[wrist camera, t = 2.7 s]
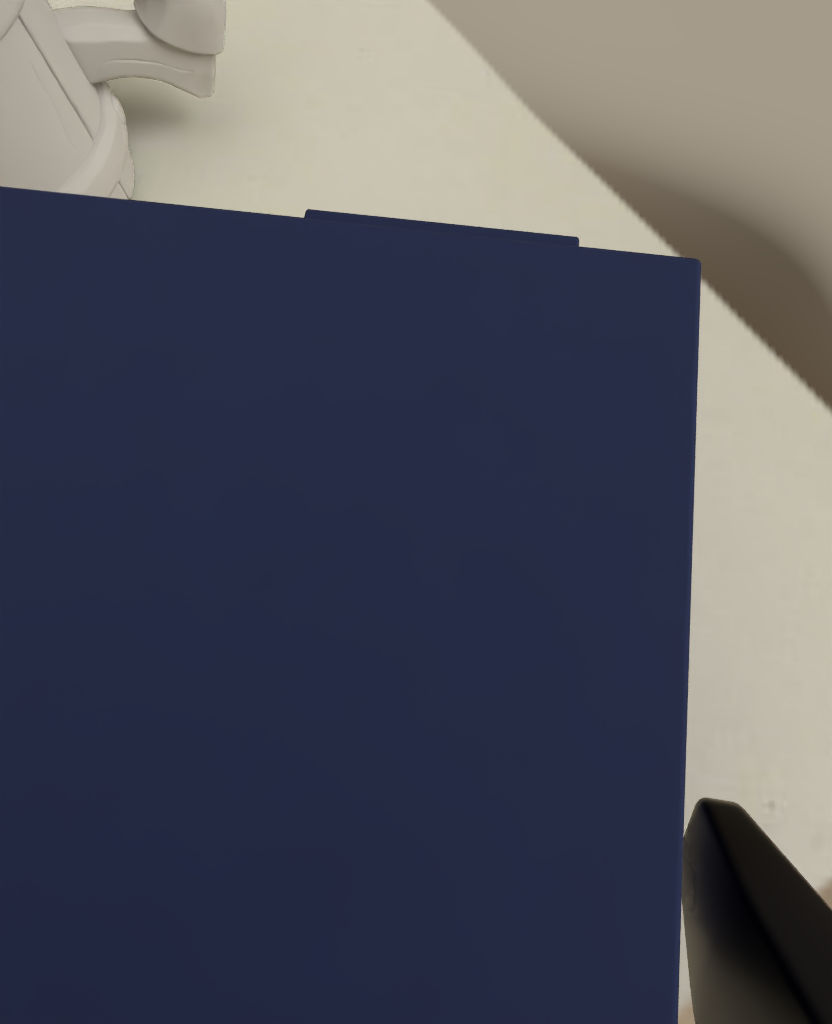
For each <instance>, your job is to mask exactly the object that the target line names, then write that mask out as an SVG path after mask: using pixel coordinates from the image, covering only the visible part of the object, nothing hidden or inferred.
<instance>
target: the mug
mask: <svg viewBox="0 0 832 1024" xmlns="http://www.w3.org/2000/svg"><path fill="white" fill-rule="evenodd" d="M134 7H135V10H120V9H113V8H105V7H92V6H76V7H68V8H61V9H55V10H52V8H51V6H50V4H49V3H48V1H47V0H0V186H3V187H12V188H22V189H31V190H41V191H50V192H60V193H70V194H79V195H89V196H98V197H108V198H118V199H127V200H128V199H131V198H132V194H133V189H134V182H135V172H134V165H133V160H132V156H131V152H130V150H129V147H128V131H127V126H126V119H125V115H124V111H123V108H122V106H121V104H120V102H119V100H118V99H117V98H116V97H115V96H114V95H113V93H112V91H111V89H110V88H109V86H108V84H107V83H106V81H107V80H111V79H116V78H123V77H139V78H149V79H155V80H159V81H163V82H165V83H168V84H170V85H173V86H175V87H177V88H179V89H181V90H183V91H186V92H188V93H190V94H192V95H194V96H197V97H199V98H204V97H209V96H211V95H212V94H213V92H214V86H215V72H216V68H215V57H216V54H220V53H222V52H223V49H224V38H225V26H226V1H225V0H134Z"/></svg>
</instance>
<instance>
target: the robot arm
mask: <svg viewBox="0 0 832 1024" xmlns="http://www.w3.org/2000/svg"><path fill="white" fill-rule="evenodd" d="M682 906H683V916H684V927H685V937H686V947H687V958H688V968H689V978H690V988H691V997H692V1005H693V1012H694V1018H695V1024H832V909H831V908H830V907H829V906H828V904H827V903H826V902H825V901H824V900H823V899H822V898H821V896H820V895H819V894H818V893H817V892H816V891H815V890H814V888H813V887H812V886H811V885H810V884H809V883H808V882H807V880H806V879H805V878H804V877H803V876H802V875H801V874H800V872H799V871H798V870H797V869H796V868H795V867H794V866H793V864H792V863H791V862H790V861H789V860H788V859H787V858H786V856H785V855H784V854H783V853H782V852H781V851H780V850H779V848H778V847H777V846H776V845H775V844H774V843H773V842H772V840H771V839H770V838H769V837H768V836H767V835H766V834H765V833H764V831H763V830H762V829H761V828H760V827H759V826H758V825H757V823H756V822H755V821H754V820H753V819H752V818H751V817H750V815H749V814H748V813H747V812H746V811H745V810H744V809H743V808H742V807H741V806H740V805H738V804H737V803H734V802H730V801H724V800H718V799H712V798H702V799H700V800H699V801H698V802H697V803H696V805H695V808H694V810H693V813H692V816H691V818H690V821H689V824H688V826H687V829H686V832H685V835H684V837H683V865H682Z"/></svg>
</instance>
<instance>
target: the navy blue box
mask: <svg viewBox="0 0 832 1024" xmlns="http://www.w3.org/2000/svg"><path fill="white" fill-rule="evenodd" d="M700 282H701V263H700V261H699V260H697V259H693V258H683V257H674V256H664V255H654V254H645V253H635V252H626V251H616V250H607V249H597V248H587V247H579V239H578V238H577V237H571V236H562V235H552V234H542V233H533V232H523V231H513V230H503V229H494V228H484V227H474V226H465V225H455V224H445V223H436V222H426V221H416V220H407V219H397V218H387V217H378V216H368V215H358V214H349V213H339V212H329V211H319V210H310V209H308V210H306V213H305V217H304V218H300V217H290V216H281V215H271V214H261V213H252V212H242V211H233V210H223V209H213V208H204V207H194V206H185V205H175V204H165V203H156V202H146V201H137V200H127V199H118V198H108V197H98V196H89V195H79V194H70V193H60V192H50V191H41V190H31V189H22V188H12V187H3V186H0V1024H678V994H679V962H680V930H681V897H682V865H683V832H684V800H685V768H686V735H687V703H688V671H689V638H690V606H691V574H692V541H693V509H694V477H695V444H696V412H697V379H698V347H699V315H700Z"/></svg>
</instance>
